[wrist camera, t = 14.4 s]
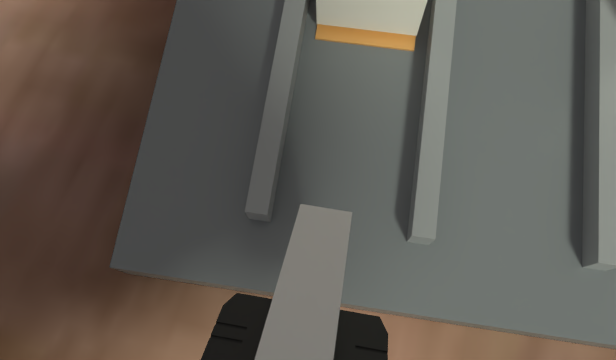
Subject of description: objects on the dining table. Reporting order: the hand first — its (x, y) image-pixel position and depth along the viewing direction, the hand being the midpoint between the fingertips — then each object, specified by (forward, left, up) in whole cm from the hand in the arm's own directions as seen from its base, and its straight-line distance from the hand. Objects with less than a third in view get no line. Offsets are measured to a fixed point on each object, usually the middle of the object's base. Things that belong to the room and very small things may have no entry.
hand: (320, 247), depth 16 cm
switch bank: (-6, -7, -6) cm, 11 cm away
